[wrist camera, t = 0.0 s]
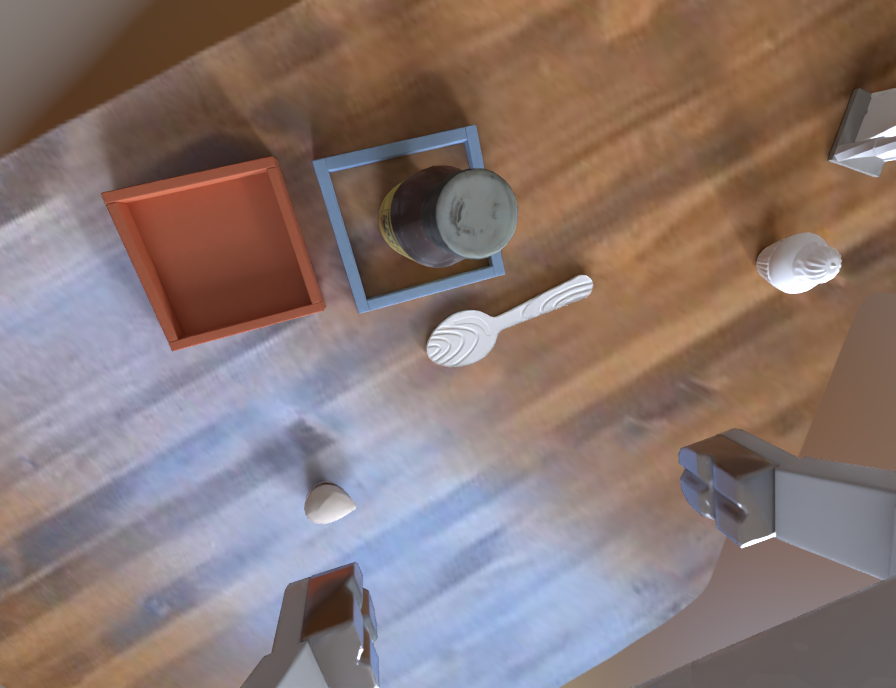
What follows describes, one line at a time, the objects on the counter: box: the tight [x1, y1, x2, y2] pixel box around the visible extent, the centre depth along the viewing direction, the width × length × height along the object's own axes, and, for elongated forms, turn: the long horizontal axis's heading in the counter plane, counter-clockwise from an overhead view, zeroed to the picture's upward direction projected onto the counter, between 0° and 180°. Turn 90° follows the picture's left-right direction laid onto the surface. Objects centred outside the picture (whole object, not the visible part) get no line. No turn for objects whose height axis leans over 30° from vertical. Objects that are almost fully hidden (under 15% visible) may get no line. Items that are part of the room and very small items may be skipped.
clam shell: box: [304, 481, 356, 524], centre depth 41 cm, size 4×5×2 cm
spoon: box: [426, 275, 593, 367], centre depth 41 cm, size 5×18×1 cm, turn 112°
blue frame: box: [312, 125, 505, 313], centre depth 37 cm, size 13×14×1 cm
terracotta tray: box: [101, 156, 326, 351], centre depth 34 cm, size 13×13×2 cm
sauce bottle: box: [378, 166, 518, 268], centre depth 28 cm, size 7×6×20 cm
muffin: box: [756, 233, 842, 293], centre depth 43 cm, size 6×6×7 cm
